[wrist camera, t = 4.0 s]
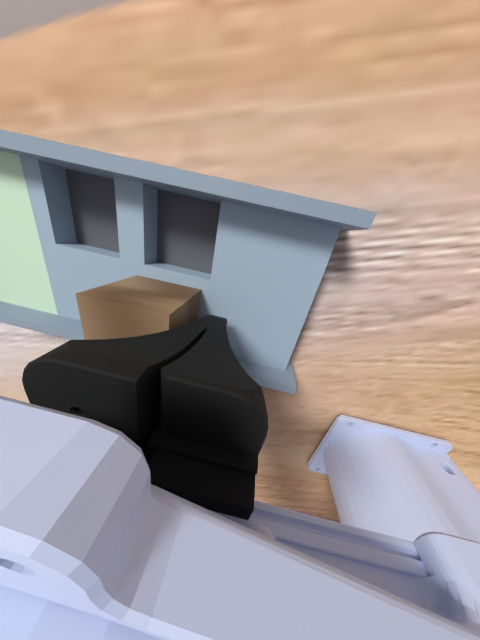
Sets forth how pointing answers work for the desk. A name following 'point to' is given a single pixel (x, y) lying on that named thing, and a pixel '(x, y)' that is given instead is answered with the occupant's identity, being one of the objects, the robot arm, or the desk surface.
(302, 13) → the desk surface
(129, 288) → the block
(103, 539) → the robot arm
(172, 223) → the box
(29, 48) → the desk surface
